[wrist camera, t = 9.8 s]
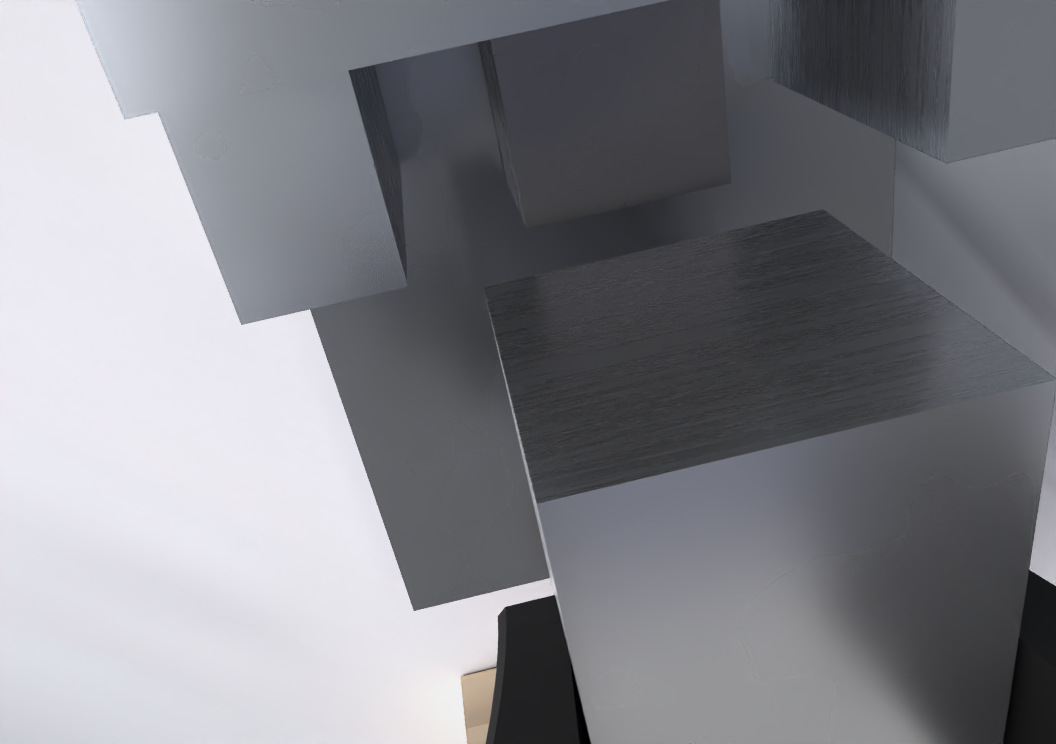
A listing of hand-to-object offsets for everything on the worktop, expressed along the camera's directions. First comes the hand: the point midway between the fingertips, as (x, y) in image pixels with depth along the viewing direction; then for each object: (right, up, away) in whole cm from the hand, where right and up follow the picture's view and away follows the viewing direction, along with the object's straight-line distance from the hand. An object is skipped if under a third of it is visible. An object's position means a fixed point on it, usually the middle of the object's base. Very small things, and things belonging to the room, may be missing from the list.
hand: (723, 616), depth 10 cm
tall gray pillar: (0, 0, +1) cm, 1 cm away
